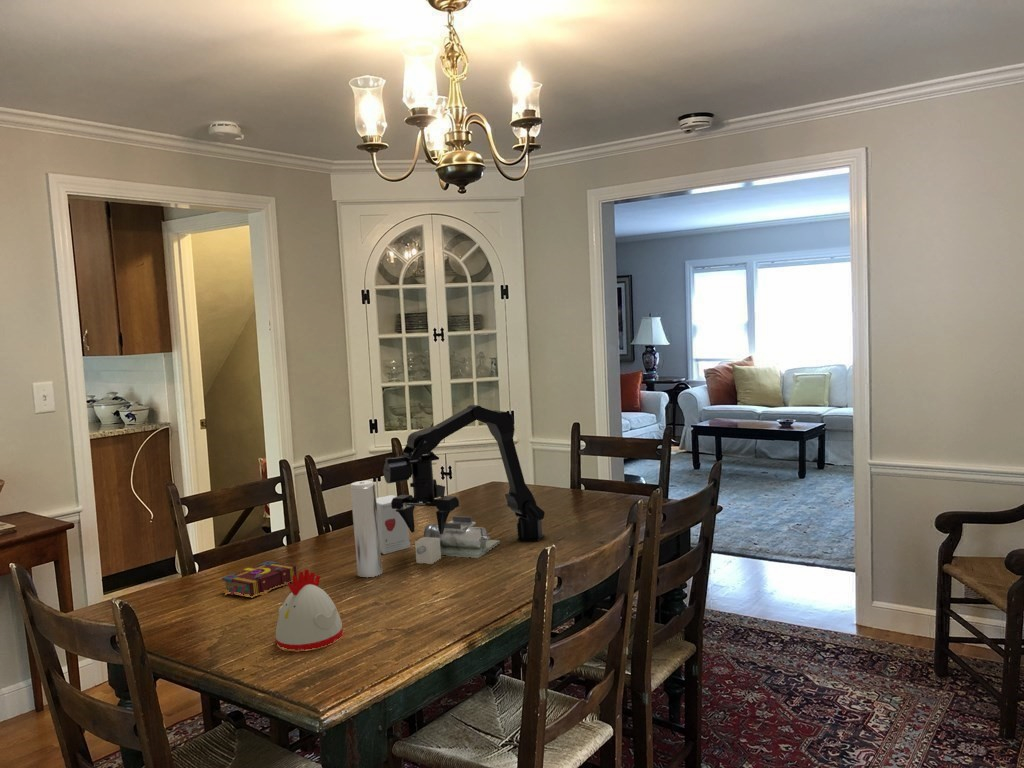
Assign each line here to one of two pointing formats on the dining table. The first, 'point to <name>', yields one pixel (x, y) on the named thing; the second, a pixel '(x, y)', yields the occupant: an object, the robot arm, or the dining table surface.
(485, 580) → the dining table surface
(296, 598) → the kitchen timer
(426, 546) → the off-white cube
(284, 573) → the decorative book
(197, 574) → the dining table surface
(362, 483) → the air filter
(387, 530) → the supplement box
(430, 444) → the robot arm
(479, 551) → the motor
